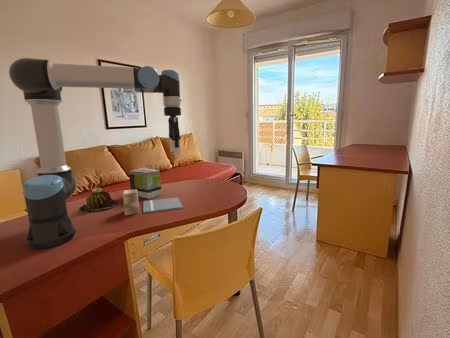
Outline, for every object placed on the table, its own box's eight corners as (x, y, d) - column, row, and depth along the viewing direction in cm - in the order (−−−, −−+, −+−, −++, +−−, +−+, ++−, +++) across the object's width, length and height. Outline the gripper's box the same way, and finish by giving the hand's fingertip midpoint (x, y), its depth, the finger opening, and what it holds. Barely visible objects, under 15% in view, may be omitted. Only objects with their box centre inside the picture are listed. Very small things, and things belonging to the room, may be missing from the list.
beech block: (125, 215, 109) (122, 194, 107) (125, 210, 115) (123, 190, 113) (139, 213, 111) (137, 192, 109) (139, 209, 117) (137, 189, 115)
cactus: (71, 212, 115) (68, 192, 113) (93, 201, 130) (91, 183, 128) (105, 213, 113) (103, 193, 111) (123, 202, 128) (121, 184, 126)
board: (143, 213, 111) (143, 211, 111) (143, 202, 126) (143, 201, 125) (182, 208, 117) (182, 206, 116) (178, 198, 131) (177, 197, 131)
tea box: (162, 194, 139) (160, 169, 137) (148, 199, 131) (146, 172, 128) (144, 191, 147) (142, 167, 145) (130, 195, 139) (128, 170, 136)
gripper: (185, 104, 99) (187, 156, 104) (176, 108, 123) (179, 150, 127) (166, 104, 97) (169, 157, 101) (161, 108, 120) (164, 150, 124)
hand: (174, 153), depth 114 cm, fingers open, 13 cm apart
